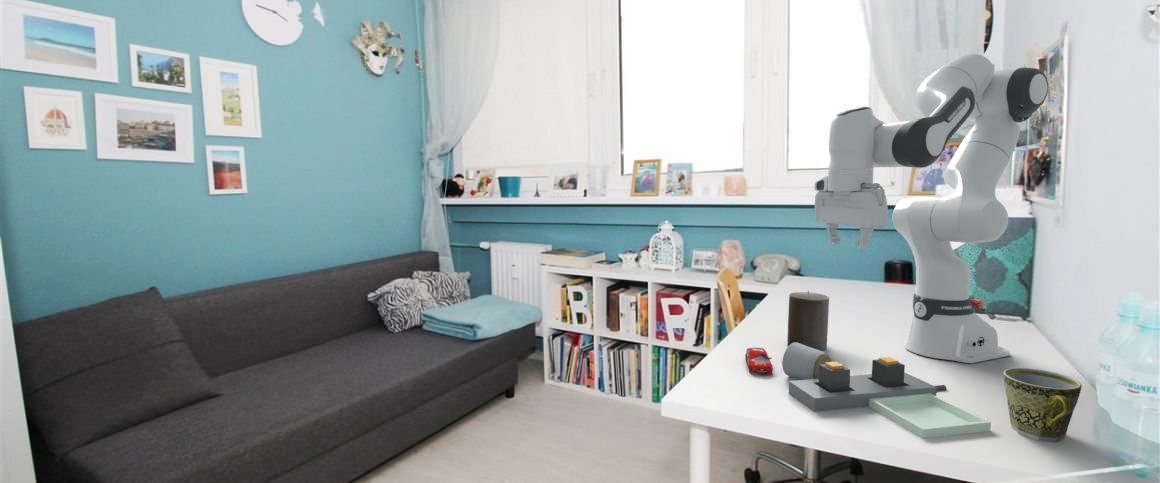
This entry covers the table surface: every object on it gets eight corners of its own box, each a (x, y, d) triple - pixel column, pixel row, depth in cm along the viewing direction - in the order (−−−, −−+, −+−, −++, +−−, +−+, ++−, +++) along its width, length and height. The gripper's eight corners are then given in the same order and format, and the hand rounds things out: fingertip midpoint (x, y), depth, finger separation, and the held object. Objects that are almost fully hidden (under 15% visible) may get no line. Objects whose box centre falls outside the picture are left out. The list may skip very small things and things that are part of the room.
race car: (774, 378, 121) (774, 361, 121) (748, 377, 122) (748, 360, 122) (767, 359, 134) (767, 343, 133) (744, 357, 135) (744, 342, 135)
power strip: (926, 382, 116) (928, 348, 115) (962, 399, 107) (964, 362, 106) (788, 395, 111) (789, 359, 110) (814, 413, 102) (815, 374, 101)
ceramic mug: (815, 390, 113) (816, 354, 113) (780, 378, 120) (781, 345, 119) (842, 379, 120) (843, 345, 119) (807, 369, 126) (808, 337, 125)
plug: (888, 386, 112) (890, 355, 111) (903, 394, 108) (904, 361, 107) (871, 388, 111) (872, 357, 110) (885, 395, 107) (886, 363, 106)
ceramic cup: (989, 419, 98) (993, 365, 97) (1056, 425, 96) (1060, 370, 94) (1025, 453, 86) (1029, 393, 85) (1102, 461, 83) (1108, 399, 82)
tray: (929, 402, 106) (929, 392, 106) (990, 432, 93) (990, 422, 93) (868, 408, 104) (868, 398, 104) (922, 440, 91) (922, 429, 91)
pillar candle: (788, 350, 139) (790, 293, 137) (785, 339, 148) (787, 286, 147) (829, 354, 136) (832, 295, 135) (824, 342, 146) (826, 287, 144)
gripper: (898, 182, 109) (895, 251, 110) (834, 182, 129) (832, 240, 130) (869, 183, 108) (867, 252, 109) (810, 183, 128) (808, 241, 129)
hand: (847, 245), depth 120 cm, fingers open, 8 cm apart
